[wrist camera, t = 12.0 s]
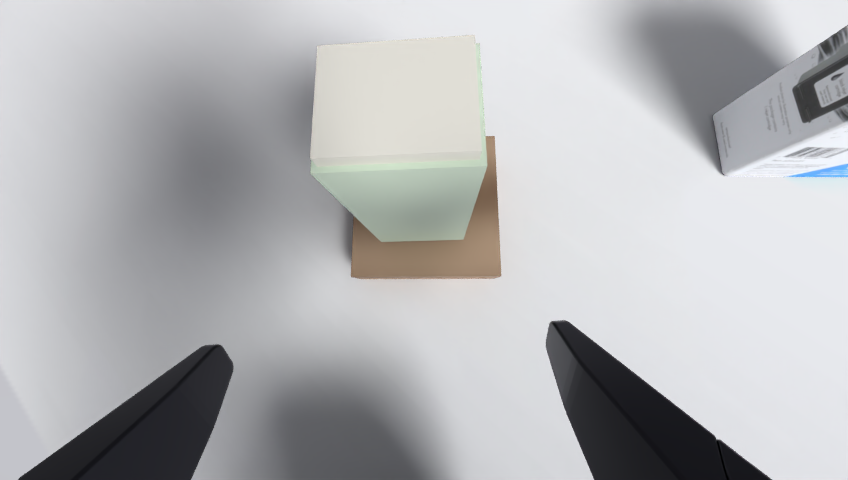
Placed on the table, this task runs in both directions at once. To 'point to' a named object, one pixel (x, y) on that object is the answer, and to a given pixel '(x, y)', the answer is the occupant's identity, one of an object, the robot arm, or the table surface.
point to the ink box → (791, 119)
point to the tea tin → (401, 134)
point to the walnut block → (438, 244)
